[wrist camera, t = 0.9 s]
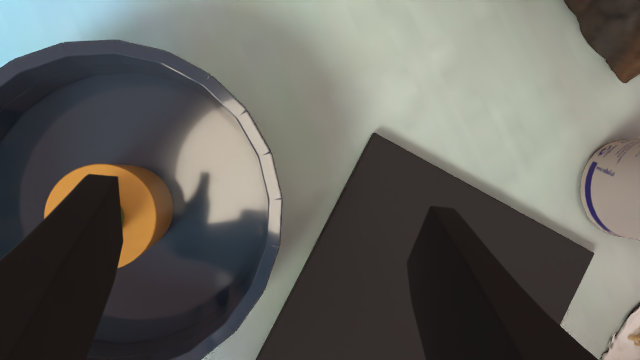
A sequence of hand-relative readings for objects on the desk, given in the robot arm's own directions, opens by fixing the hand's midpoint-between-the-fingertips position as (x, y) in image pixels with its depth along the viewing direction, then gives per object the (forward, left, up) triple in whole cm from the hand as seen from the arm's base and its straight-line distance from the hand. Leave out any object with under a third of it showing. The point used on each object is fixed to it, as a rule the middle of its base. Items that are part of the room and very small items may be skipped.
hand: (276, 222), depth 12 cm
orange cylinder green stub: (-3, +5, -14) cm, 15 cm away
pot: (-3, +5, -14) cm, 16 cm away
